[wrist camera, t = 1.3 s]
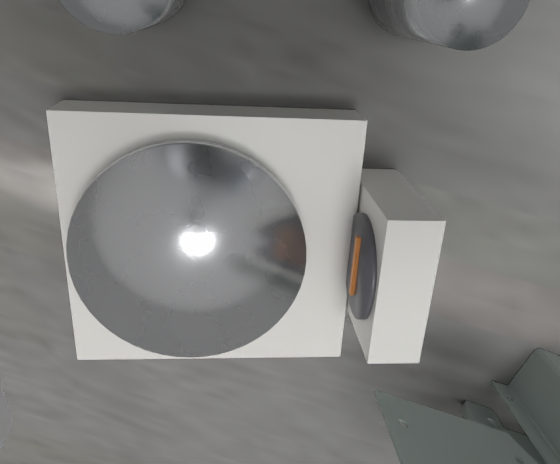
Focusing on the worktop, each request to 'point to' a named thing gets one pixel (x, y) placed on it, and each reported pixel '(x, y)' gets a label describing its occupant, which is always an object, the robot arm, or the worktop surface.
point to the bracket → (484, 423)
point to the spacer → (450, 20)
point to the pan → (186, 248)
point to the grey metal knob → (121, 13)
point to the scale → (311, 208)
